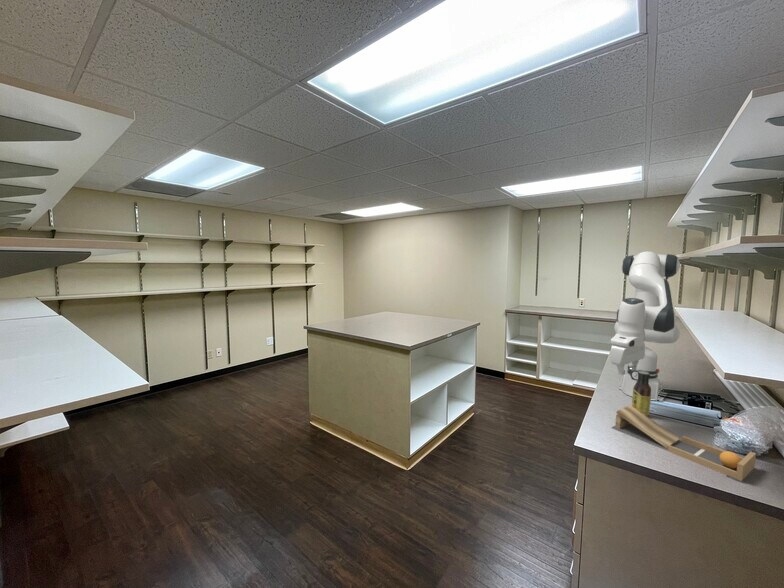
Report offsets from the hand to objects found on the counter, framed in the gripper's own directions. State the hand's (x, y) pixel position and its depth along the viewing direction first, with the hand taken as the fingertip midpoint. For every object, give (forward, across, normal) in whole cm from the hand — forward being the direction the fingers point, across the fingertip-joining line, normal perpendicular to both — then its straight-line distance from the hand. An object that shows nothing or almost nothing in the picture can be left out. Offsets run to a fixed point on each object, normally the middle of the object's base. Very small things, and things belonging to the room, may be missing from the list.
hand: (627, 372), depth 129 cm
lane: (+23, +1, +17) cm, 28 cm away
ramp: (+22, +1, +8) cm, 24 cm away
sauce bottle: (+23, -16, -1) cm, 28 cm away
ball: (+20, 0, +29) cm, 35 cm away
